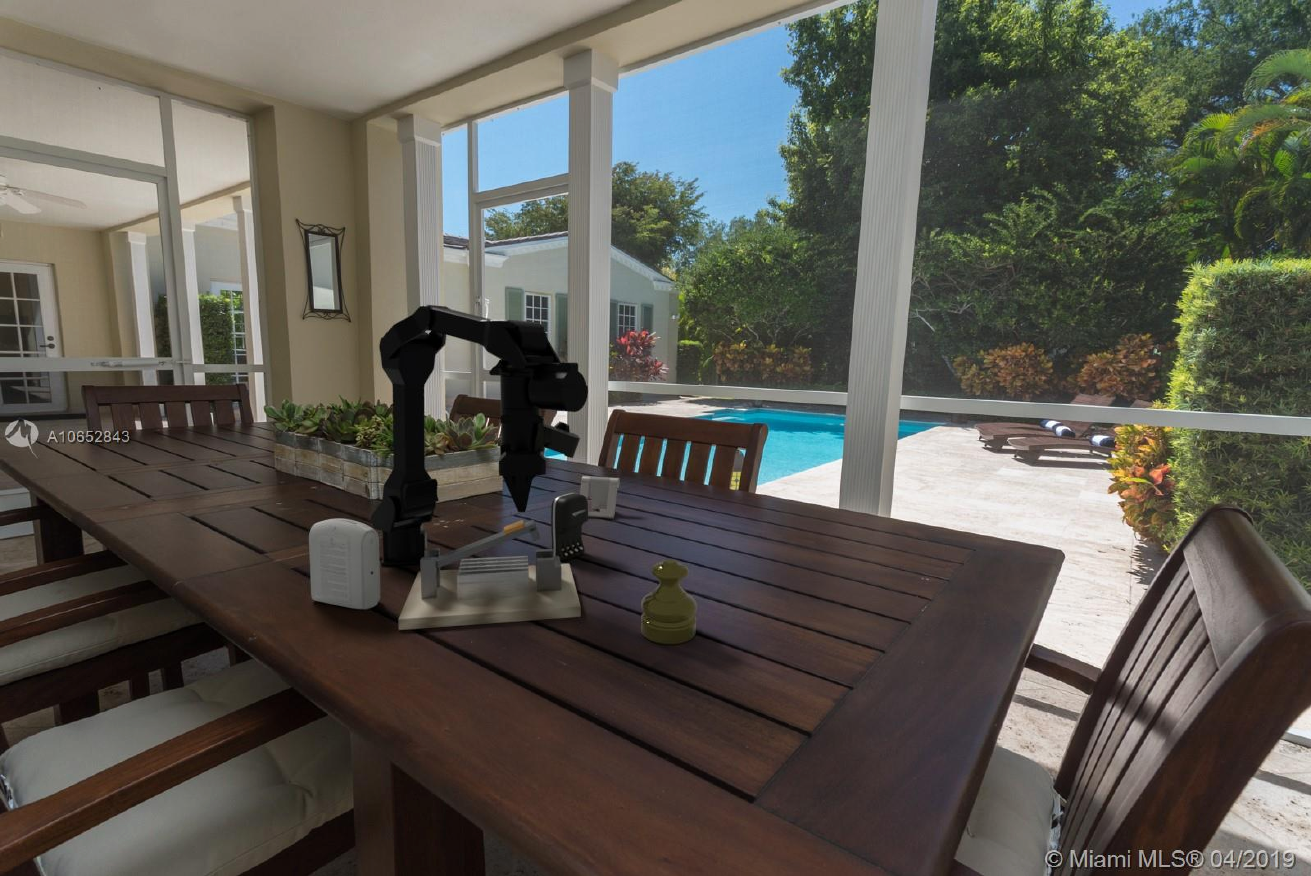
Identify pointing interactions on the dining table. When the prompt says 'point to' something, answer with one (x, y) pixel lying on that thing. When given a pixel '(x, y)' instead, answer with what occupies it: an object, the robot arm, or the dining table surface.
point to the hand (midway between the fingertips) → (521, 511)
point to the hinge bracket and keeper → (545, 572)
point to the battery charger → (568, 525)
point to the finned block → (493, 578)
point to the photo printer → (344, 563)
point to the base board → (488, 604)
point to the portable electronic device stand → (601, 494)
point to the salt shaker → (669, 606)
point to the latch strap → (490, 542)
